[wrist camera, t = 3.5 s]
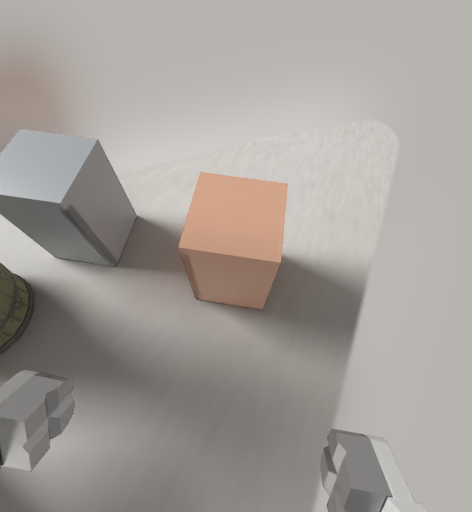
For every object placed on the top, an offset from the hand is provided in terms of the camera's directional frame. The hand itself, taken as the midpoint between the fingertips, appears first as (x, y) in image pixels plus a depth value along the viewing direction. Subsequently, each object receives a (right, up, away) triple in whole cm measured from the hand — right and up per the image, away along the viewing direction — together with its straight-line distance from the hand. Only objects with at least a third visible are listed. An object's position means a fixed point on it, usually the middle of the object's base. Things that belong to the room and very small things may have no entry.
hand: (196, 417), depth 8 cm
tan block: (+1, +3, +18) cm, 19 cm away
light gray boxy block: (-13, +7, +20) cm, 25 cm away
